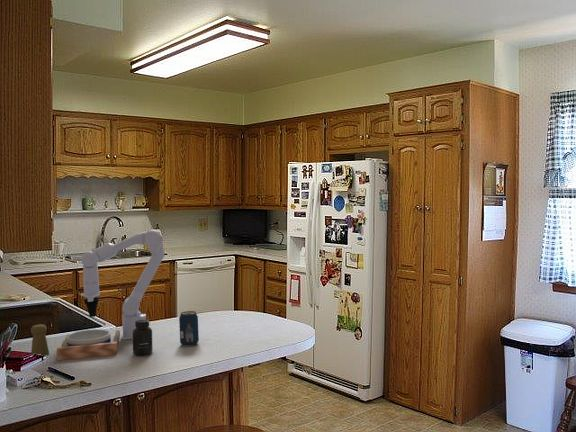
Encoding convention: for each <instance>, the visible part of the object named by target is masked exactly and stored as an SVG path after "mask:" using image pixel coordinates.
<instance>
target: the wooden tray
mask: <svg viewBox="0 0 576 432" xmlns="http://www.w3.org/2000/svg"><path fill="white" fill-rule="evenodd" d="M68 335H69V334H66V336H65V338H64V340H63V343H61V345H60V346H58V347H57V348H56V361H60V360H61V361H62V360H74V359H81V358H93V357H103V356H104V357H105V356H113V355H118V351H119V343H120V336H121V331H120V329H118V330H115V334H114V339H113V341H111V342H109V343H99V344H88V345H77V346H67V336H68Z"/></svg>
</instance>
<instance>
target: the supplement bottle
mask: <svg viewBox="0 0 576 432" xmlns="http://www.w3.org/2000/svg"><path fill="white" fill-rule="evenodd" d="M135 327H136V328H135V329H134V330H133V339H132V354H133V356H134V357H148V356H151V355H152V354H153V351H154V350H153V348H154V347H153V346H154V345H153V329H152V327H150V320H149V319H146V320H137V321H135Z"/></svg>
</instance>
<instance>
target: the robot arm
mask: <svg viewBox="0 0 576 432" xmlns="http://www.w3.org/2000/svg"><path fill="white" fill-rule="evenodd" d="M163 241H164V240H163V237H162V236H161V233H160V231H158V230H157V229H151V228H150V229H149V230H147V231H146V230H145V231H142V232H139V233H136V234H133V235H132V236H129V237H126V238H125V239H123V240H121V241H118V242H117V243H112V242H105V243H103V244H102V246H100V247H97V248H91V250H90V251H87V252H86V253H84V254H83V255H82V257H81V260H80V261H81V264H82V269H83V270H82V280H83V293H80V296H81V297H84V299H83V302H84V304H85V305H86V308H87V312H88V316H89V317H90V318H95V317H96V316H97V312H98V311H97V308H98V303H99V301H100V299H101V297H99V296H100V295H101V293H100V282H99V281H100V279H99V277H100V276H99V268H98V263H103V262H105V261H108V260H110V259H112V258H114V257H116V256H117V254H118V252H120V251H122V250H124V249H127V248H129V247H132V246H134V245H144V244H145V245H146V246H147V247H148V249H149V251H150V255H151V256H150V259H148V262H147V264H146V265H145V268H144V269H143V270H142V273H141V275H140V277H139V279H138V281H137V283H136V284H135V286H134V288H133V290H132V291H131V293H130V295H129V296H128V297H126V298H125V299H124V301H123V304H122V306H121V307H122V308H121V310H122V314H121V318H122V319H121V321H122V334H121V340H122V341H123V340H133V330H134V329H135V328H136V327H135V321H137V320H147V315H146V313H142V312H141V311H140V310H139V309H140V305H141V301H142V299H143V297H144V295H145V293H146V291H147V289H148V287H149V285H150V284H151V283H152V279H153V278H154V276H155V274H156V273H157V271H158V269H159V267H160V264H161V263H162V261H163V259H164V257H165V250H164V242H163Z"/></svg>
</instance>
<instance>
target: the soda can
mask: <svg viewBox="0 0 576 432" xmlns="http://www.w3.org/2000/svg"><path fill="white" fill-rule="evenodd" d="M178 322H179V343H180V344H181V345H182V346H183V347H194V346H196V345H197V344H199V343H198V342H199V340H200V338H199V316H198V314H197V312H196V311H194V310H190V311H189V310H187V311H182V312H180V316H179V321H178Z"/></svg>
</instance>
